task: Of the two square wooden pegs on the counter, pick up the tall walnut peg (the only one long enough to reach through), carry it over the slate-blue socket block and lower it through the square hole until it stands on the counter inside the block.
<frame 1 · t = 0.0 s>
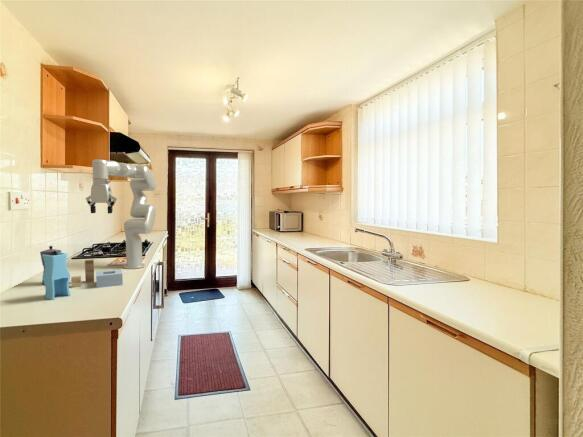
hand: (101, 213, 189), 37 cm above the worktop, tool pointing down, fingers open, 9 cm apart
socket block: (109, 283, 182), on the worktop
moka pot: (53, 283, 182), on the worktop
oak peg short: (76, 286, 176), on the worktop
vase: (57, 296, 159), on the worktop
walnut peg long: (89, 281, 185), on the worktop
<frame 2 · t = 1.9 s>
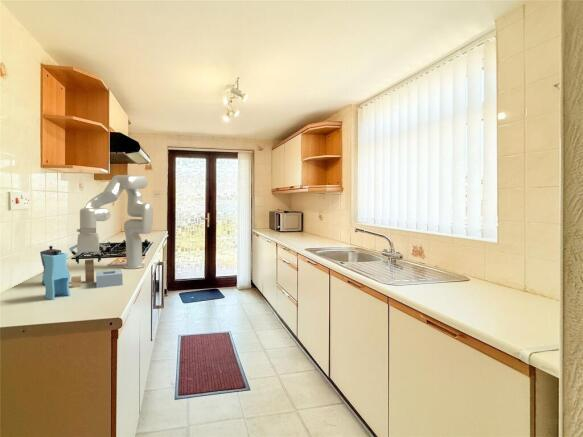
hand: (88, 262, 184), 11 cm above the worktop, tool pointing down, fingers open, 9 cm apart
nothing on the worktop moved.
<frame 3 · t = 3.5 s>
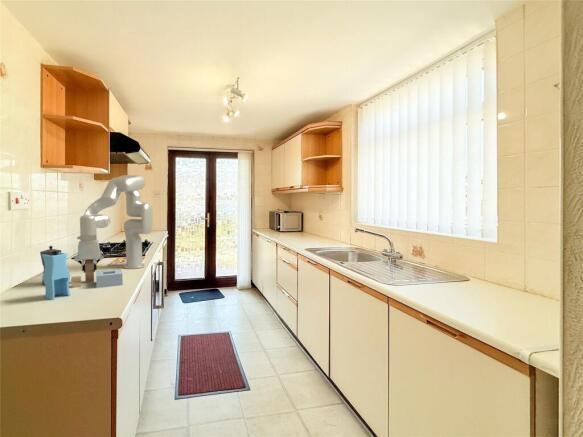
hand: (89, 271, 185), 6 cm above the worktop, tool pointing down, fingers closed on walnut peg long, 4 cm apart
walnut peg long: (89, 281, 185), on the worktop, touching gripper
everything else where it was.
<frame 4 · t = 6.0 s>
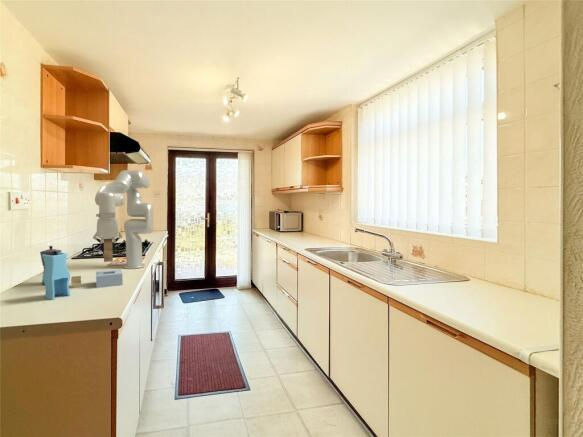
hand: (108, 250, 180), 18 cm above the worktop, tool pointing down, fingers closed on walnut peg long, 4 cm apart
walnut peg long: (108, 261, 181), point 12 cm above the worktop, touching gripper
everything else where it was.
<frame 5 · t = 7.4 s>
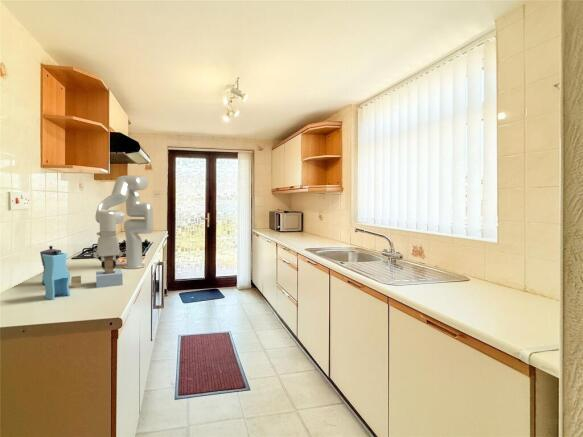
hand: (108, 268, 181), 8 cm above the worktop, tool pointing down, fingers closed on walnut peg long, 4 cm apart
walnut peg long: (109, 278, 182), point 3 cm above the worktop, touching gripper
everything else where it was.
when the fingers open (7 cm above the worktop, at t = 8.4 s): walnut peg long drops 1 cm, resting in socket block.
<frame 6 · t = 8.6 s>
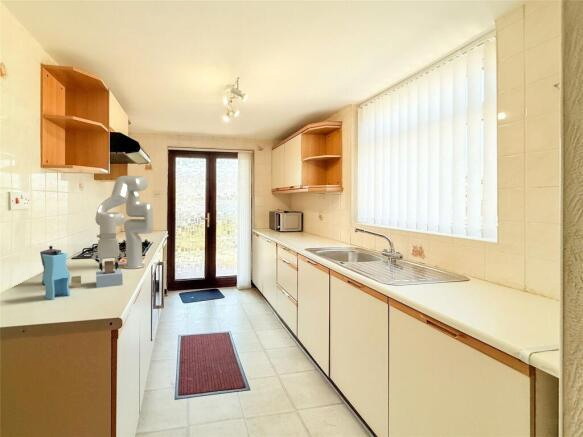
hand: (108, 269, 182), 8 cm above the worktop, tool pointing down, fingers open, 6 cm apart
walnut peg long: (109, 283, 182), resting in socket block
everything else where it was.
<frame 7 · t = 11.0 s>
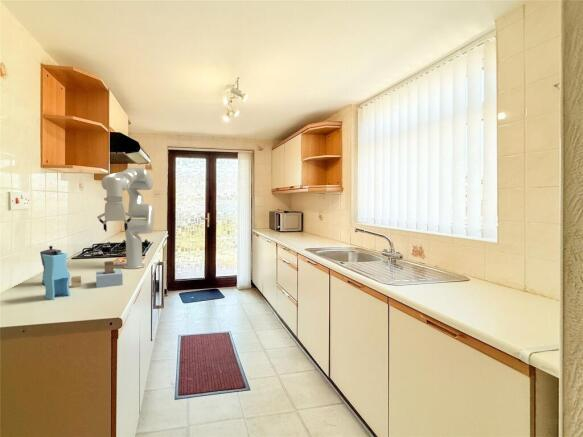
hand: (115, 230, 188), 28 cm above the worktop, tool pointing down, fingers open, 9 cm apart
nothing on the worktop moved.
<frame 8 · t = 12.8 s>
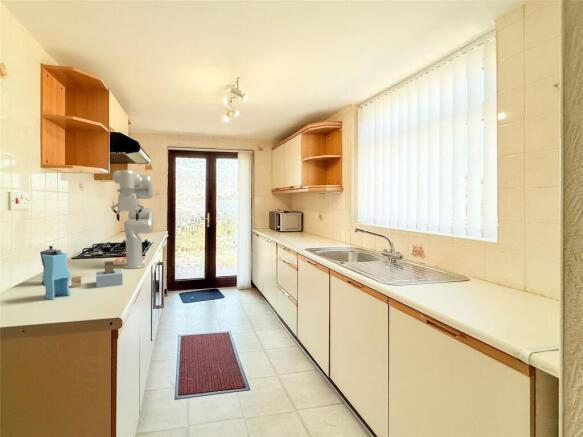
hand: (127, 220, 200), 32 cm above the worktop, tool pointing down, fingers open, 9 cm apart
nothing on the worktop moved.
at the end: walnut peg long 0.0 cm off-centre on the socket block, point 0.0 cm above the socket block's base; walnut peg long tilted 0°; oak peg short moved 0.1 cm from its start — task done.
